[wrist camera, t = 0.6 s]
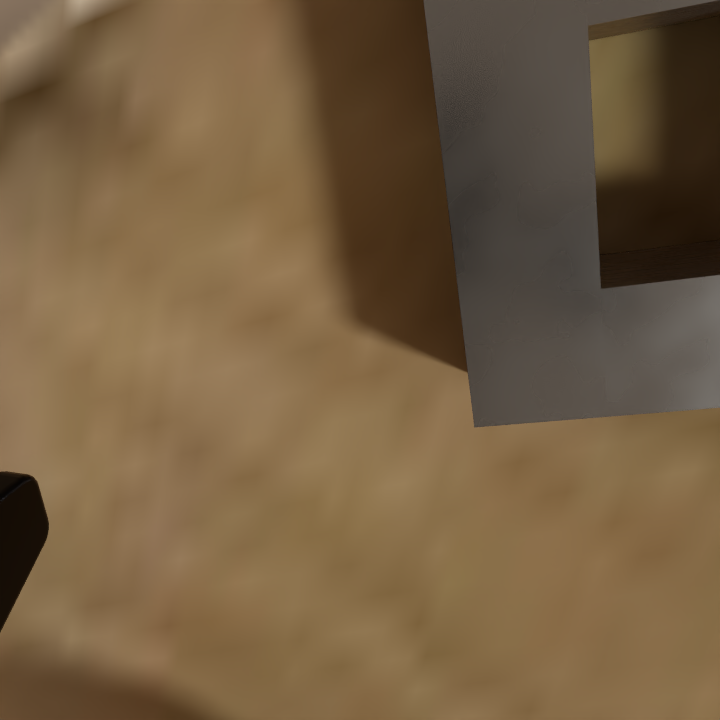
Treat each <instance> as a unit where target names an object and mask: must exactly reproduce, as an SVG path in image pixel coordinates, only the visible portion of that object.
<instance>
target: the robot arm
mask: <svg viewBox="0 0 720 720" xmlns="http://www.w3.org/2000/svg"><path fill="white" fill-rule="evenodd" d="M48 530H49V522H48V517H47V514H46V510H45V507H44V503H43V499H42V496H41V492H40V489H39V485H38V483H37V481H36V480H35V478H34V477H33V476H31V475H28V474H21V473H14V472H7V471H5V472H0V632H1V630H2V628H3V626H4V624H5V622H6V620H7V618H8V616H9V614H10V612H11V610H12V608H13V606H14V604H15V602H16V600H17V598H18V596H19V594H20V592H21V590H22V588H23V586H24V584H25V582H26V580H27V578H28V576H29V574H30V572H31V570H32V568H33V566H34V564H35V562H36V560H37V558H38V556H39V554H40V552H41V550H42V548H43V546H44V544H45V541H46V539H47V535H48Z"/></svg>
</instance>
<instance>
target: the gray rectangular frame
mask: <svg viewBox="0 0 720 720" xmlns="http://www.w3.org/2000/svg"><path fill="white" fill-rule="evenodd" d="M424 9H425V17H426V25H427V34H428V42H429V51H430V59H431V67H432V76H433V84H434V92H435V101H436V109H437V118H438V126H439V134H440V143H441V151H442V159H443V168H444V176H445V185H446V193H447V201H448V210H449V218H450V227H451V235H452V243H453V252H454V260H455V268H456V277H457V285H458V294H459V302H460V310H461V319H462V327H463V335H464V344H465V352H466V361H467V369H468V377H469V386H470V394H471V403H472V411H473V419H474V427H485V426H497V425H509V424H522V423H534V422H547V421H559V420H571V419H584V418H596V417H609V416H621V415H633V414H646V413H658V412H671V411H683V410H695V409H708V408H720V240H715V241H708V242H700V243H692V244H684V245H676V246H668V247H661V248H653V249H645V250H637V251H629V252H621V253H614V254H606V255H599V241H598V220H597V200H596V180H595V160H594V140H593V120H592V100H591V80H590V60H589V40H594V39H600V38H605V37H610V36H615V35H621V34H626V33H631V32H636V31H642V30H647V29H652V28H657V27H663V26H668V25H673V24H678V23H684V22H689V21H694V20H699V19H705V18H710V17H715V16H720V0H424Z"/></svg>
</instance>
